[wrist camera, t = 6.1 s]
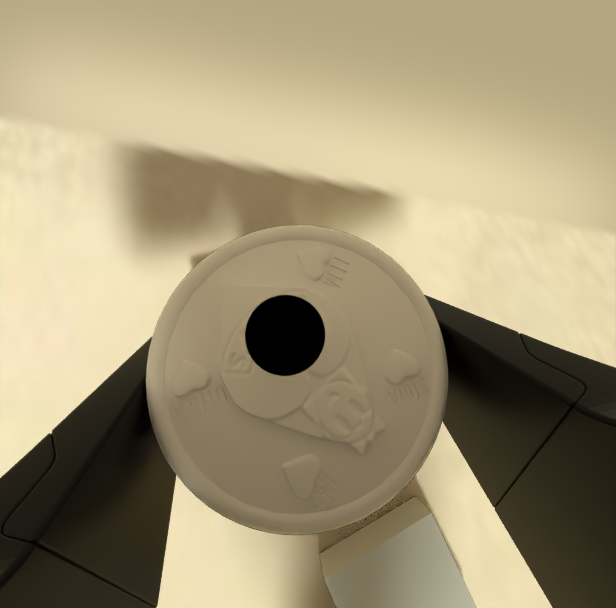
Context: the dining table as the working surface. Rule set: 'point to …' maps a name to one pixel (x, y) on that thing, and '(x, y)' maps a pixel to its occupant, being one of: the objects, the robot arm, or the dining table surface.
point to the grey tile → (395, 564)
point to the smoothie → (296, 380)
